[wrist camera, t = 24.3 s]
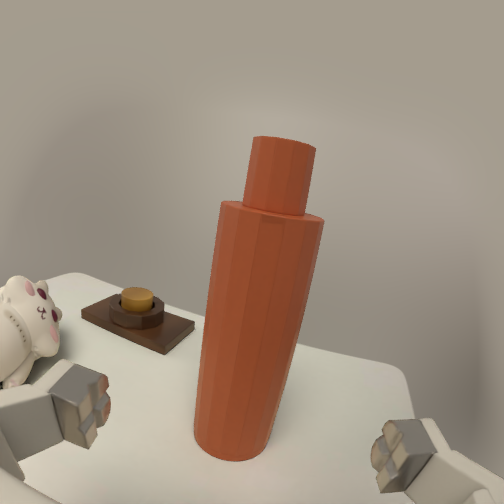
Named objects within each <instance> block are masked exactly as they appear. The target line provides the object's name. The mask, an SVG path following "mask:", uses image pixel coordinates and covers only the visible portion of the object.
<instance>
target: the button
mask: <svg viewBox="0 0 504 504" xmlns="http://www.w3.org/2000/svg"><path fill="white" fill-rule="evenodd" d="M121 306H122V308H124V309H126V310H129V311H137V312H142V311H149V310H151V309H152V308H153V293H152V292H151V291H149V290H147V289H144V288H137V287H132V288H126V289H124V290H123V291H122V293H121Z"/></svg>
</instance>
